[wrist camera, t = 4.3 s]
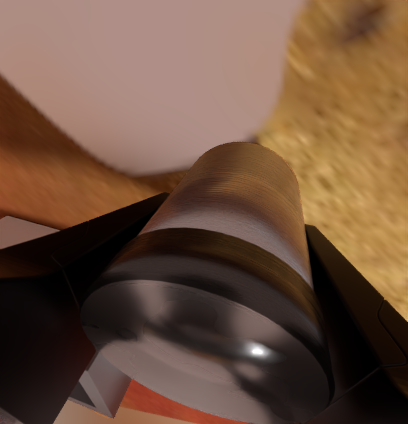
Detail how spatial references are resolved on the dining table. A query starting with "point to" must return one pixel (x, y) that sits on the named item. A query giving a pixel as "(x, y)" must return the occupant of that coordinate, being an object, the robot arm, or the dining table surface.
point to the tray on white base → (99, 366)
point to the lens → (220, 295)
